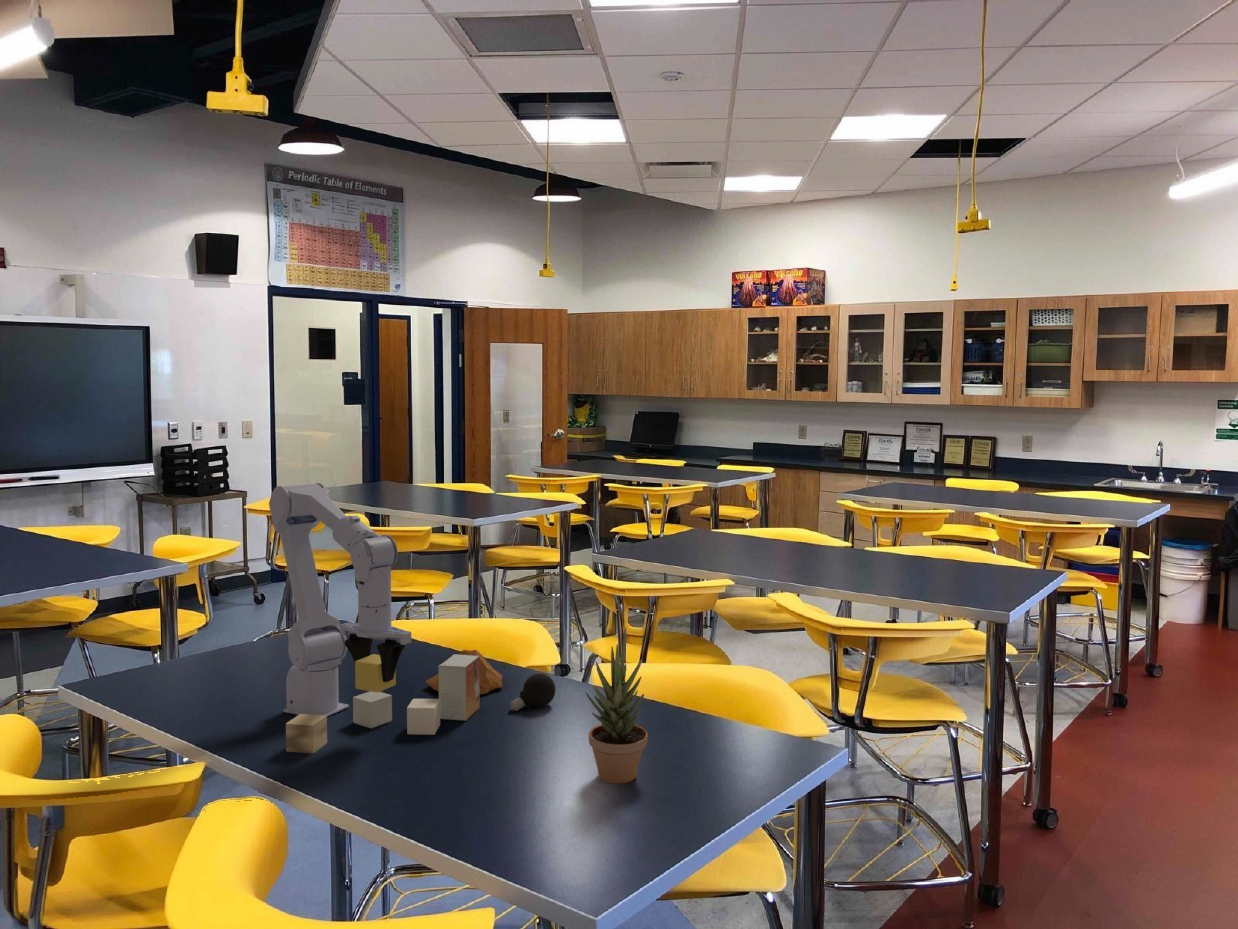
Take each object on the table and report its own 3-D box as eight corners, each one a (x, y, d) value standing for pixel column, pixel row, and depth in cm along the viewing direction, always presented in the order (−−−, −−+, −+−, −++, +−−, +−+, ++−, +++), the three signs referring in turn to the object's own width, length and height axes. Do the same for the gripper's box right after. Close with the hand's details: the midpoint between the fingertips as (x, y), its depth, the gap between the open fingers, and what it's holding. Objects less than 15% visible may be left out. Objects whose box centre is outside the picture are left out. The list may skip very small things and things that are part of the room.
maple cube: (286, 751, 164) (285, 723, 164) (300, 741, 169) (300, 713, 168) (313, 754, 163) (312, 725, 163) (327, 743, 168) (326, 715, 168)
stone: (514, 693, 204) (520, 657, 199) (469, 729, 192) (475, 692, 187) (461, 659, 210) (466, 624, 205) (414, 692, 198) (419, 655, 193)
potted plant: (627, 793, 148) (629, 638, 146) (577, 780, 153) (578, 629, 151) (659, 772, 157) (661, 624, 154) (610, 759, 162) (611, 616, 160)
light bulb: (498, 688, 185) (539, 662, 191) (505, 713, 188) (545, 686, 194) (517, 703, 181) (558, 676, 186) (523, 728, 184) (564, 701, 189)
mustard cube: (355, 688, 170) (355, 661, 170) (373, 680, 175) (373, 654, 174) (377, 692, 168) (377, 664, 168) (395, 684, 172) (395, 657, 172)
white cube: (407, 734, 172) (406, 707, 172) (413, 724, 177) (413, 698, 177) (434, 735, 172) (434, 708, 172) (440, 725, 177) (439, 699, 177)
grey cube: (353, 723, 178) (352, 697, 178) (374, 715, 182) (373, 690, 182) (371, 728, 175) (370, 702, 175) (392, 721, 179) (391, 695, 179)
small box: (466, 721, 179) (465, 667, 178) (438, 719, 180) (437, 665, 179) (480, 707, 187) (480, 655, 186) (453, 705, 188) (453, 653, 187)
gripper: (327, 604, 169) (328, 678, 171) (393, 613, 163) (394, 690, 164) (354, 596, 176) (355, 668, 177) (418, 604, 170) (419, 679, 171)
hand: (375, 678), depth 171 cm, fingers closed on mustard cube, 5 cm apart
